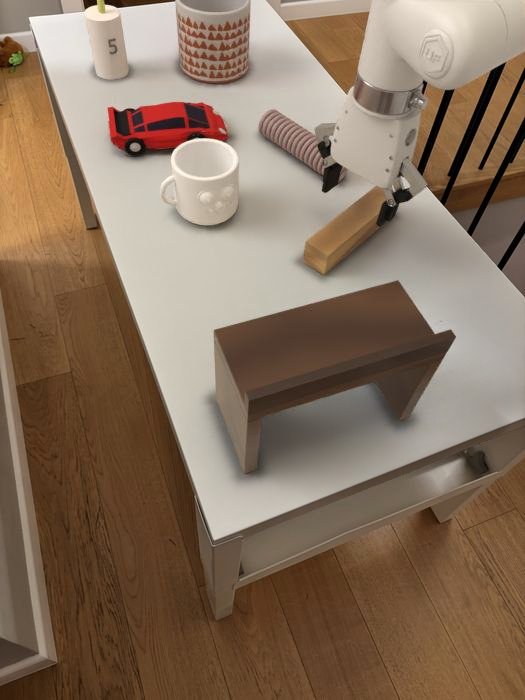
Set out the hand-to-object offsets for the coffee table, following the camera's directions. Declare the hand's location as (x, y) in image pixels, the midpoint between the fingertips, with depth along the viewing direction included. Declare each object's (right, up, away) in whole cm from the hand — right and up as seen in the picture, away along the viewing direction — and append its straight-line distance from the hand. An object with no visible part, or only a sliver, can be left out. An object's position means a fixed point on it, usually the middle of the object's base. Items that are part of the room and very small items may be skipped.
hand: (356, 204), depth 77 cm
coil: (-7, +12, +16) cm, 21 cm away
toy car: (-30, +16, +17) cm, 38 cm away
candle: (-43, +33, +28) cm, 61 cm away
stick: (0, -4, +5) cm, 6 cm away
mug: (-23, +1, +7) cm, 24 cm away
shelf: (-7, -28, -12) cm, 31 cm away
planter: (-23, +36, +31) cm, 53 cm away
